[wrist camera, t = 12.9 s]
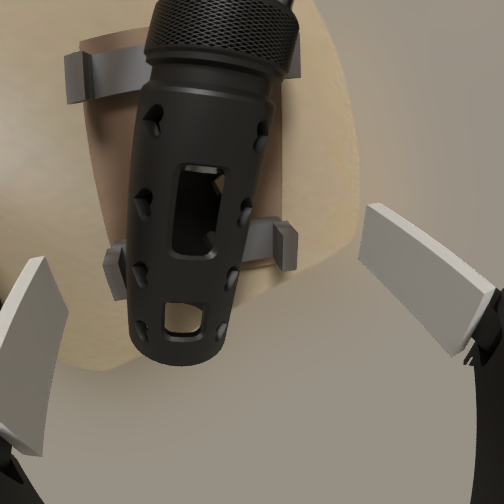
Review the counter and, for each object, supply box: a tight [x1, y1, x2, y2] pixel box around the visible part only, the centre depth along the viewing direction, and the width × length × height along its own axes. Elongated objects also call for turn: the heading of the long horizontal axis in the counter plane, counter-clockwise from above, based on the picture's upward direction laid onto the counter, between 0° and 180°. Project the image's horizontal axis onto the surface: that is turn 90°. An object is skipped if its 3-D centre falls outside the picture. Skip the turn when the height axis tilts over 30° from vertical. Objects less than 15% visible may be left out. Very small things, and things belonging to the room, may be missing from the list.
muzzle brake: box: [126, 0, 299, 366], centre depth 20 cm, size 10×28×10 cm, turn 169°
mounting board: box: [64, 26, 301, 301], centre depth 24 cm, size 18×26×6 cm
